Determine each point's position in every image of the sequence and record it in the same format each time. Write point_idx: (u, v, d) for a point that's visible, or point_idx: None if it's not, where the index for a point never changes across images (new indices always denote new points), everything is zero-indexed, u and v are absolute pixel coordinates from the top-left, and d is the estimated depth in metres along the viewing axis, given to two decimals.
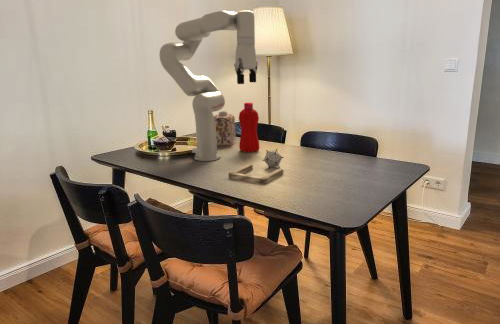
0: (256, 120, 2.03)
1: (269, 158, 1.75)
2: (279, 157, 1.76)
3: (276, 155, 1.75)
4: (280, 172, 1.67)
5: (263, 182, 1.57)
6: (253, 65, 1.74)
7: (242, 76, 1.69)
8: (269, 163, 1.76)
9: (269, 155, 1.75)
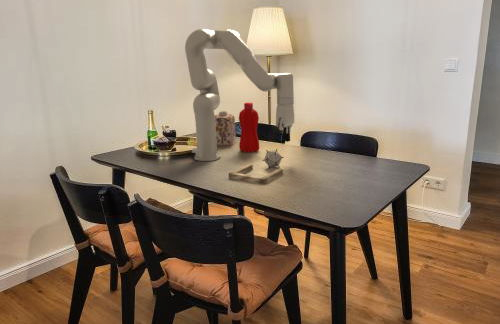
0: (256, 120, 2.03)
1: (269, 158, 1.75)
2: (279, 157, 1.76)
3: (276, 155, 1.75)
4: (280, 172, 1.67)
5: (263, 182, 1.57)
6: (292, 121, 1.84)
7: (287, 134, 1.84)
8: (269, 163, 1.76)
9: (269, 155, 1.75)
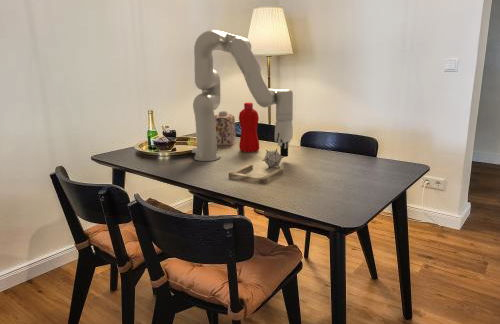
0: (256, 120, 2.03)
1: (269, 158, 1.75)
2: (279, 157, 1.76)
3: (276, 155, 1.75)
4: (280, 172, 1.67)
5: (263, 182, 1.57)
6: (291, 137, 1.86)
7: (285, 150, 1.85)
8: (269, 163, 1.76)
9: (269, 155, 1.75)
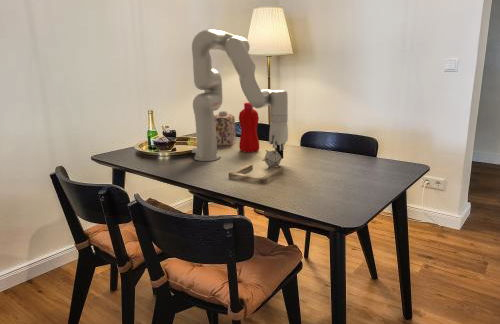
0: (256, 120, 2.03)
1: (269, 158, 1.75)
2: (279, 157, 1.76)
3: (276, 155, 1.75)
4: (280, 172, 1.67)
5: (263, 182, 1.57)
6: (286, 139, 1.82)
7: (280, 152, 1.81)
8: (269, 163, 1.76)
9: (269, 155, 1.75)
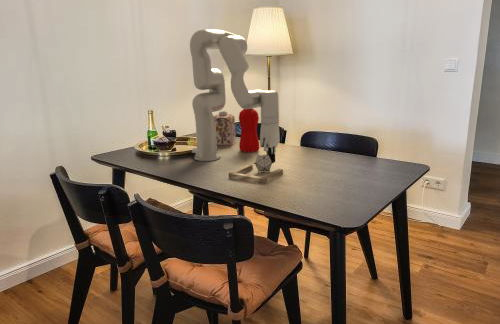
0: (256, 120, 2.03)
1: (257, 163, 1.68)
2: (269, 162, 1.68)
3: (265, 160, 1.68)
4: (280, 172, 1.67)
5: (263, 182, 1.57)
6: (277, 141, 1.74)
7: (272, 155, 1.73)
8: (258, 168, 1.69)
9: (258, 160, 1.68)
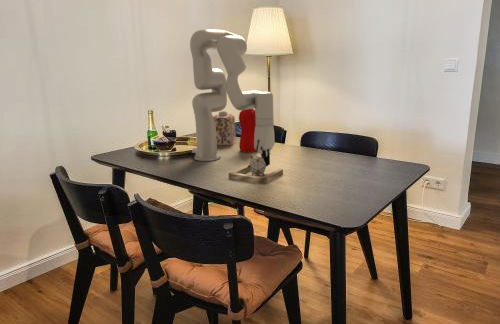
0: None
1: (251, 165, 1.64)
2: (263, 165, 1.64)
3: (259, 163, 1.64)
4: (280, 172, 1.67)
5: (263, 182, 1.57)
6: (272, 144, 1.70)
7: (267, 158, 1.69)
8: (252, 170, 1.66)
9: (252, 163, 1.65)
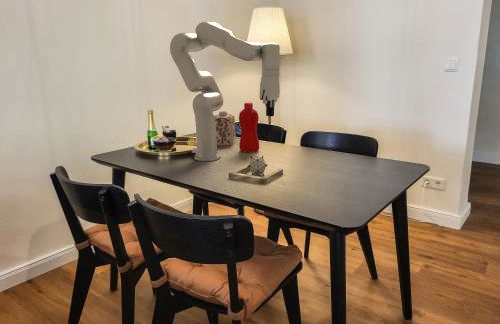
0: (256, 120, 2.03)
1: (251, 165, 1.65)
2: (262, 165, 1.65)
3: (259, 162, 1.64)
4: (280, 172, 1.67)
5: (263, 182, 1.57)
6: (277, 95, 1.75)
7: (271, 109, 1.74)
8: (252, 170, 1.66)
9: (252, 162, 1.65)
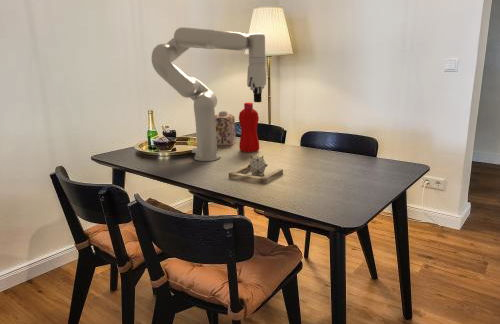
0: (256, 120, 2.03)
1: (251, 165, 1.65)
2: (262, 165, 1.65)
3: (259, 162, 1.64)
4: (280, 172, 1.67)
5: (263, 182, 1.57)
6: (264, 82, 1.87)
7: (258, 95, 1.86)
8: (252, 170, 1.66)
9: (252, 162, 1.65)
